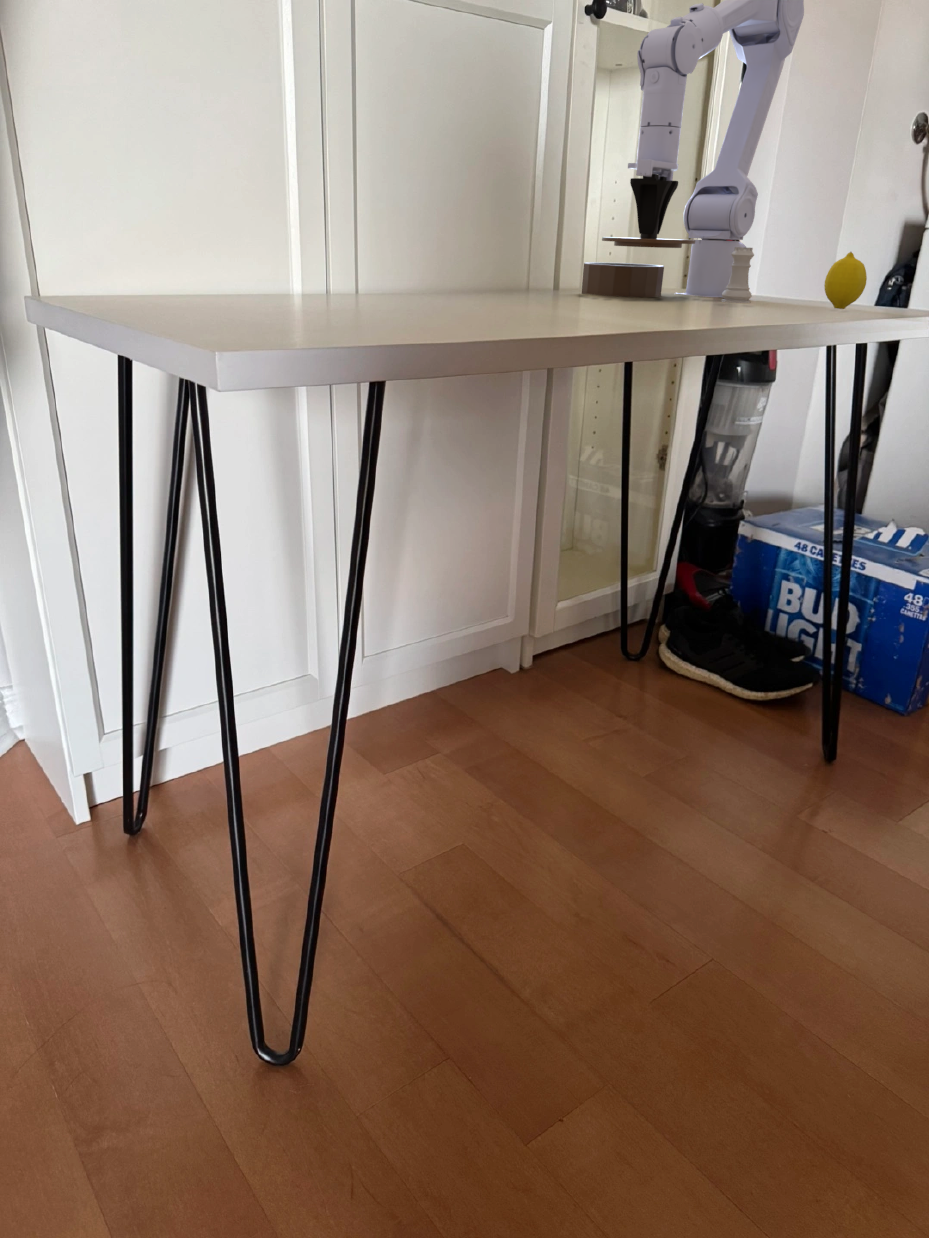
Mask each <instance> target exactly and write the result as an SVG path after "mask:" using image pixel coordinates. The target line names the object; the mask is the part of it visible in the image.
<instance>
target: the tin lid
mask: <svg viewBox="0 0 929 1238" xmlns="http://www.w3.org/2000/svg"><path fill="white" fill-rule="evenodd" d="M658 223H659V220H658ZM657 232H658V224H657V228H656V231H655V233H654V234H640V237H620V236H619V237H617V236H614V237H613V236H602V237H601V241H602V242H613V246H615V247H633V248H657V249H658V248H660V249H681V248H682V247H683V245H692V244H695V240H696V239H677V238H658V234H657Z"/></svg>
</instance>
